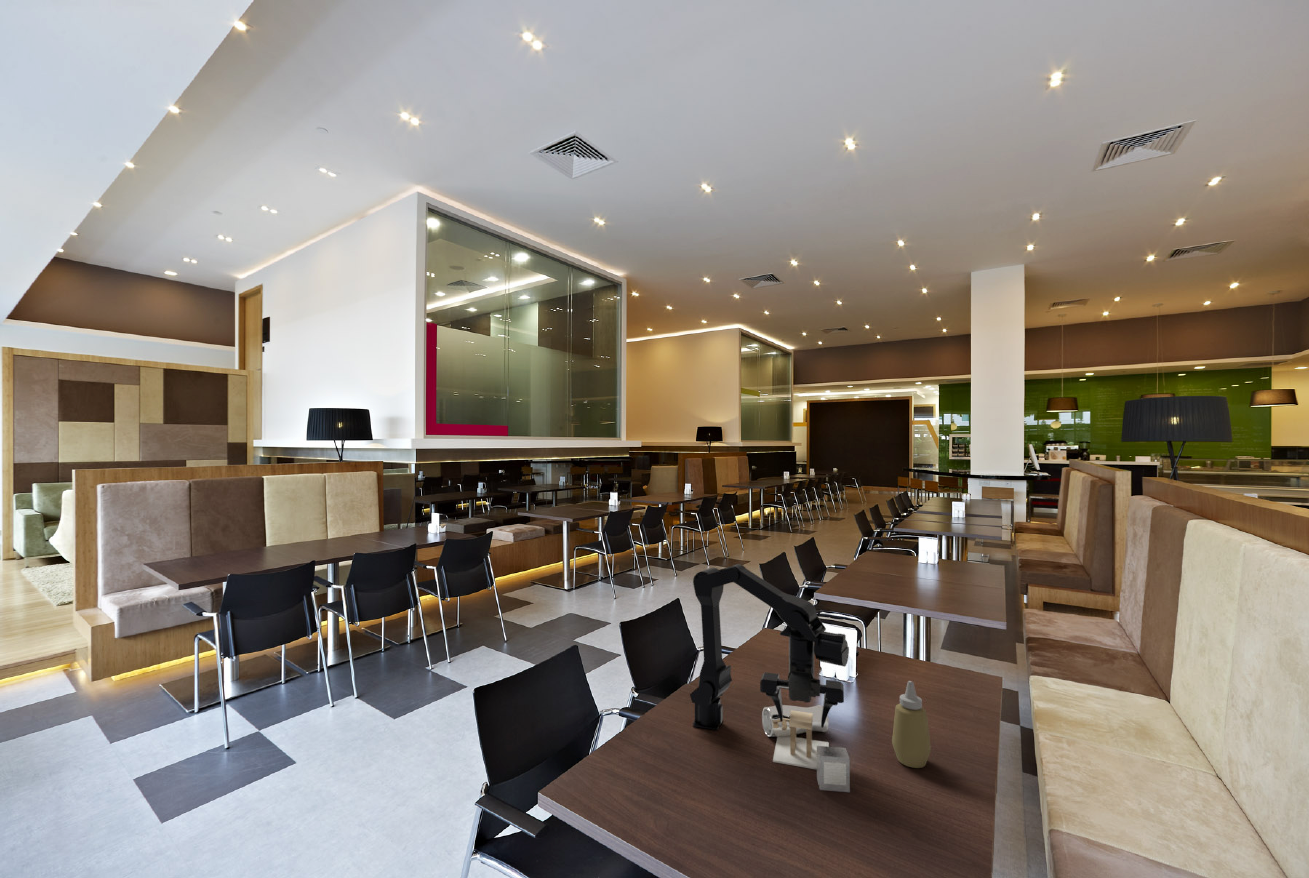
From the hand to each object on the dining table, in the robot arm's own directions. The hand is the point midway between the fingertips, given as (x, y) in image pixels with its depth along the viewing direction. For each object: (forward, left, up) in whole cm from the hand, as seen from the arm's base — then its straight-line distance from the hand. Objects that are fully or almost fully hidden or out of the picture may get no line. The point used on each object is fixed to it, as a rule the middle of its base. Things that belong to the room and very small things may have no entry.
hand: (801, 723), depth 129 cm
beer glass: (+5, +13, -4) cm, 14 cm away
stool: (0, 0, -6) cm, 6 cm away
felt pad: (0, 0, -7) cm, 7 cm away
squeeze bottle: (+24, +4, -7) cm, 25 cm away
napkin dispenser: (+7, -11, -7) cm, 15 cm away
